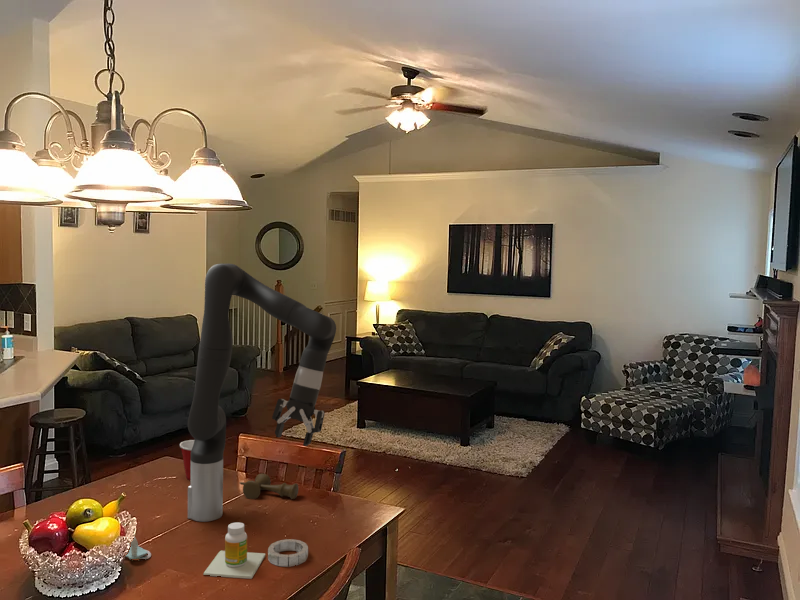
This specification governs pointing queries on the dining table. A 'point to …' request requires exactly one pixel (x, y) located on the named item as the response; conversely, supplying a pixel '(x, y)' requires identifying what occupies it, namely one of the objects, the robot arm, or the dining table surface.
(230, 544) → the supplement bottle
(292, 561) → the white segmented ring
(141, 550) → the pacifier
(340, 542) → the dining table surface
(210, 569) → the sage mat
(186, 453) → the plastic cup
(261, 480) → the kendama
